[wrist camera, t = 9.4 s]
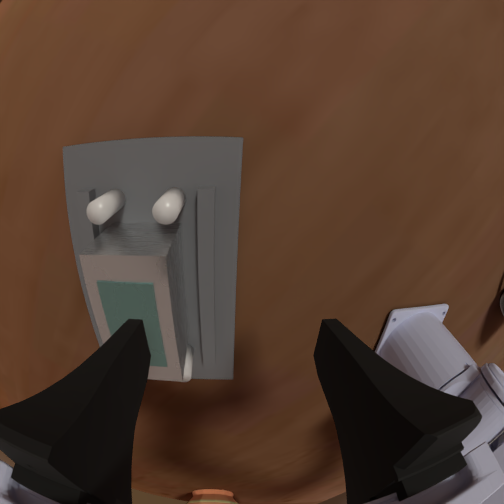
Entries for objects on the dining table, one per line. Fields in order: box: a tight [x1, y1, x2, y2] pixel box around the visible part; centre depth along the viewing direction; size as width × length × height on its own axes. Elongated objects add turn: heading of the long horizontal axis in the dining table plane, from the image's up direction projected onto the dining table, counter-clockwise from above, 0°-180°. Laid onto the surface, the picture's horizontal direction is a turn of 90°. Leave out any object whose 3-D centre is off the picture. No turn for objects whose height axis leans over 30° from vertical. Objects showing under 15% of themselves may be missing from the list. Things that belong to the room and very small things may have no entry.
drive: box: [79, 223, 189, 382], centre depth 17 cm, size 9×5×5 cm, turn 177°
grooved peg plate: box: [63, 136, 243, 382], centre depth 18 cm, size 20×12×4 cm, turn 177°
